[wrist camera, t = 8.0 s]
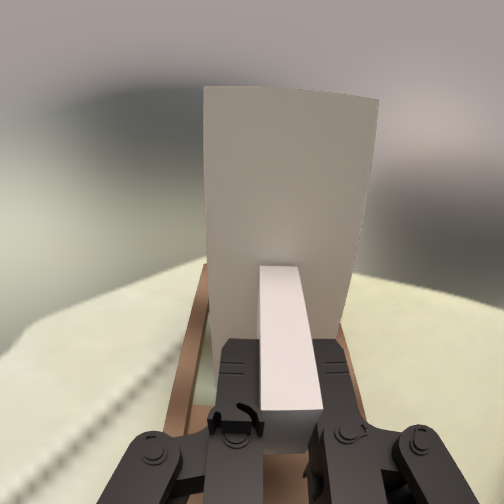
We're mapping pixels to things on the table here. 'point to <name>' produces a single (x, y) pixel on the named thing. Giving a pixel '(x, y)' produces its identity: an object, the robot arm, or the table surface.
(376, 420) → the table surface
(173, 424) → the trap track
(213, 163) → the block
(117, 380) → the table surface
